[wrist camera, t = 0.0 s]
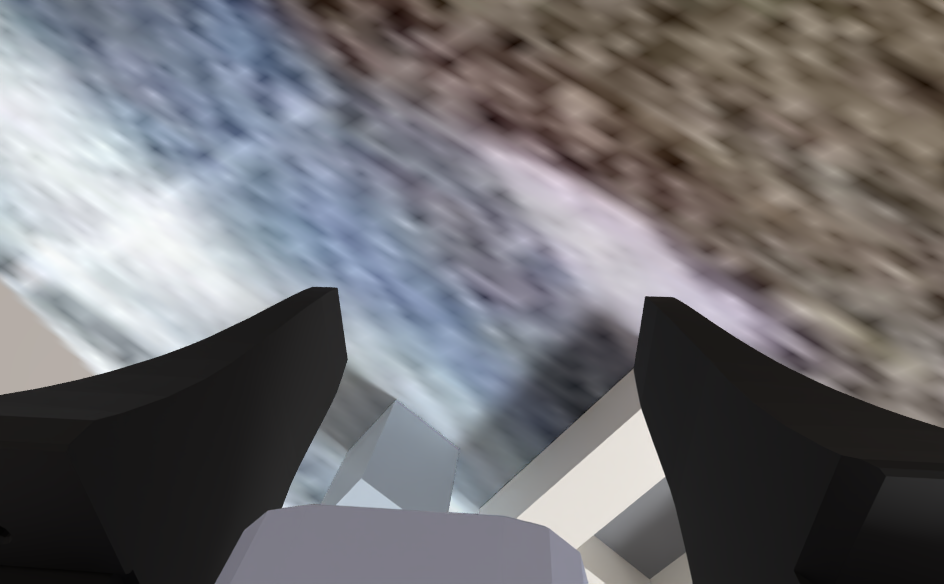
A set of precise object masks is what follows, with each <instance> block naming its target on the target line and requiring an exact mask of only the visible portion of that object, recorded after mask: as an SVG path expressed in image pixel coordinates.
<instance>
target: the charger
mask: <svg viewBox="0 0 944 584" xmlns="http://www.w3.org/2000/svg"><path fill="white" fill-rule="evenodd" d="M458 455H459V448H458V447H456V446H455V445H454V444H453V443H451V442H450V441H449V440H448V439H446V438H445V437H444V436H442V435H441V434H440V433H439V432H437V431H436V430H435V429H434V428H432V427H431V426H430V425H428V424H427V423H426V422H425V421H423V420H422V419H421V418H420V417H418V416H417V415H416V414H414V413H413V412H412V411H411V410H409V409H408V408H407V407H406V406H404V405H403V404H402V403H400V402H399V401H398V400H397V399H396V400H395V401H394V402H393V403H392V404H391V406H390V407H389V408H388V409H387V410H386V411H385V412H384V413H383V414H382V415H381V416H380V417H379V418H378V420H377V421H376V422H375V423H374V424H373V425H372V426H371V427H370V428H369V429H368V430H367V431H366V432H365V434H364V435H363V436H362V437H361V438H360V439H359V440H358V441H357V442H356V443H355V444H354V445H353V446H352V448H351V449H350V450H349V451H348V452H347V454H346V456H345V458H344V460H343V462H342V464H341V466H340V468H339V470H338V471H337V473H336V475H335V477H334V479H333V481H332V483H331V485H330V487H329V489H328V491H327V493H326V495H325V496H324V498H323V500H322V502H321V504H323V505H339V506H355V507H371V508H388V509H404V510H420V511H436V512H448V511H449V506H450V500H451V495H452V489H453V483H454V478H455V472H456V466H457V461H458Z"/></svg>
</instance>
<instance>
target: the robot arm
mask: <svg viewBox="0 0 944 584" xmlns="http://www.w3.org/2000/svg"><path fill="white" fill-rule="evenodd" d="M347 360H348V359H347V352H346V345H345V338H344V331H343V323H342V316H341V309H340V302H339V295H338V288H332V287H311V288H308V289H306V290H303V291H301V292H299V293H297V294H295V295H293V296H291V297H289V298H287V299H285V300H283V301H281V302H279V303H277V304H275V305H273V306H271V307H269V308H267V309H266V310H264V311H262V312H260V313H258V314H256V315H254V316H252V317H250V318H248V319H246V320H244V321H242V322H240V323H238V324H236V325H234V326H231V327H229V328H227V329H225V330H223V331H221V332H219V333H217V334H215V335H213V336H210V337H208V338H206V339H203V340H201V341H199V342H196V343H194V344H191V345H189V346H186V347H184V348H181V349H178V350H176V351H173V352H170V353H168V354H165V355H162V356H159V357H156V358H153V359H150V360H147V361H143V362H140V363H137V364H134V365H130V366H127V367H124V368H121V369H117V370H114V371H111V372H107V373H103V374H99V375H95V376H92V377H88V378H84V379H80V380H76V381H71V382H66V383H62V384H57V385H53V386H48V387H43V388H38V389H33V390H27V391H21V392H15V393H9V394H4V395H0V584H588V579H587V576H586V572H585V568H584V565H583V561H582V557H581V554H580V552H579V551H577V550H576V549H575V548H574V547H572V546H571V545H570V544H569V543H567V542H566V541H565V540H564V539H562V538H561V537H560V536H558V535H557V534H556V533H555V532H553V531H552V530H551V529H550V528H548V527H546V526H543V525H539V524H535V523H531V522H527V521H523V520H519V519H515V518H511V517H507V516H501V515H485V514H469V513H453V512H436V511H420V510H404V509H388V508H371V507H355V506H339V505H323V504H309V505H302V506H295V507H288V508H282V506H283V503H284V501H285V498H286V495H287V493H288V490H289V488H290V485H291V483H292V481H293V478H294V476H295V474H296V472H297V470H298V467H299V466H300V464H301V462H302V460H303V458H304V456H305V454H306V452H307V450H308V448H309V446H310V444H311V442H312V440H313V438H314V436H315V435H316V433H317V431H318V429H319V427H320V425H321V423H322V421H323V419H324V417H325V415H326V413H327V411H328V409H329V407H330V405H331V403H332V401H333V399H334V397H335V395H336V393H337V390H338V387H339V384H340V381H341V379H342V376H343V372H344V369H345V366H346V363H347ZM634 376H635V381H636V387H637V392H638V397H639V402H640V406H641V409H642V412H643V415H644V418H645V421H646V424H647V427H648V430H649V433H650V435H651V438H652V441H653V444H654V446H655V449H656V452H657V455H658V458H659V460H660V463H661V466H662V469H663V471H664V474H665V477H666V480H667V483H668V485H669V488H670V491H671V495H672V498H673V501H674V504H675V508H676V512H677V516H678V521H679V525H680V529H681V533H682V537H683V542H684V546H685V550H686V555H687V560H688V564H689V569H690V574H691V578H692V583H693V584H944V428H941V427H938V426H935V425H931V424H928V423H925V422H922V421H919V420H916V419H912V418H909V417H906V416H903V415H900V414H897V413H894V412H892V411H889V410H886V409H883V408H880V407H877V406H875V405H872V404H870V403H867V402H864V401H862V400H859V399H857V398H854V397H852V396H849V395H847V394H844V393H842V392H839V391H837V390H834V389H832V388H830V387H828V386H825V385H823V384H821V383H819V382H816V381H814V380H812V379H810V378H808V377H806V376H804V375H802V374H800V373H798V372H796V371H794V370H792V369H789V368H788V367H786V366H784V365H782V364H780V363H778V362H776V361H774V360H773V359H771V358H769V357H767V356H766V355H764V354H762V353H760V352H759V351H757V350H755V349H754V348H752V347H750V346H749V345H747V344H745V343H744V342H742V341H740V340H739V339H737V338H736V337H734V336H733V335H731V334H729V333H728V332H726V331H725V330H723V329H722V328H720V327H719V326H717V325H716V324H714V323H713V322H711V321H710V320H708V319H707V318H705V317H704V316H702V315H701V314H699V313H698V312H696V311H695V310H693V309H692V308H690V307H689V306H687V305H686V304H684V303H683V302H681V301H679V300H677V299H675V298H673V297H648V296H645V301H644V308H643V314H642V320H641V327H640V333H639V339H638V346H637V352H636V358H635V365H634Z"/></svg>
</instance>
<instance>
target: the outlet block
mask: <svg viewBox="0 0 944 584" xmlns="http://www.w3.org/2000/svg"><path fill="white" fill-rule="evenodd" d="M479 514H485V515H501V516H507V517H511V518H515V519H519V520H523V521H527V522H531V523H535V524H539V525H543V526H546V527H548V528H550V529H551V530H552V531H553V532H555V533H556V534H557V535H558V536H560V537H561V538H562V539H564V540H565V541H566V542H567V543H569V544H570V545H571V546H572V547H574V548H575V549H576V550H577V551H579V552H580V554H581V557H582V561H583V565H584V568H585V572H586V576H587V579H588V584H693V583H692V578H691V574H690V569H689V564H688V560H687V555H686V550H685V546H684V542H683V537H682V533H681V529H680V525H679V521H678V516H677V512H676V508H675V504H674V501H673V498H672V495H671V491H670V488H669V485H668V483H667V480H666V477H665V474H664V471H663V469H662V466H661V463H660V460H659V458H658V455H657V452H656V449H655V446H654V444H653V441H652V438H651V435H650V433H649V430H648V427H647V424H646V421H645V418H644V415H643V412H642V409H641V406H640V402H639V397H638V392H637V387H636V381H635V376H634V368H633V369H632V370H631V371H630V372H629V373H628V374H627V375H626V376H625V377H624V378H622V379H621V380H620V381H619V382H618V383H617V384H616V385H615V386H614V387H613V388H611V389H610V390H609V391H608V392H607V393H606V394H605V395H604V396H603V397H602V398H601V399H599V400H598V401H597V402H596V403H595V404H594V405H593V406H592V407H591V408H590V409H588V410H587V411H586V412H585V413H584V414H583V415H582V416H581V417H580V418H579V419H578V420H576V421H575V422H574V423H573V424H572V425H571V426H570V427H569V428H568V429H567V430H565V431H564V432H563V433H562V434H561V435H560V436H559V437H558V438H557V439H556V440H555V441H553V442H552V443H551V444H550V445H549V446H548V447H547V448H546V449H545V450H544V451H542V452H541V453H540V454H539V455H538V456H537V457H536V458H535V459H534V460H533V461H532V462H530V463H529V464H528V465H527V466H526V467H525V468H524V469H523V470H522V471H521V472H519V473H518V474H517V475H516V476H515V477H514V478H513V479H512V480H511V481H510V482H509V483H507V484H506V485H505V486H504V487H503V488H502V489H501V490H500V491H499V492H498V493H496V494H495V495H494V496H493V497H492V498H491V499H490V500H489V501H488V502H487V503H485V504H484V505H483V506H482V507H481V508H480V509H479Z"/></svg>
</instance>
